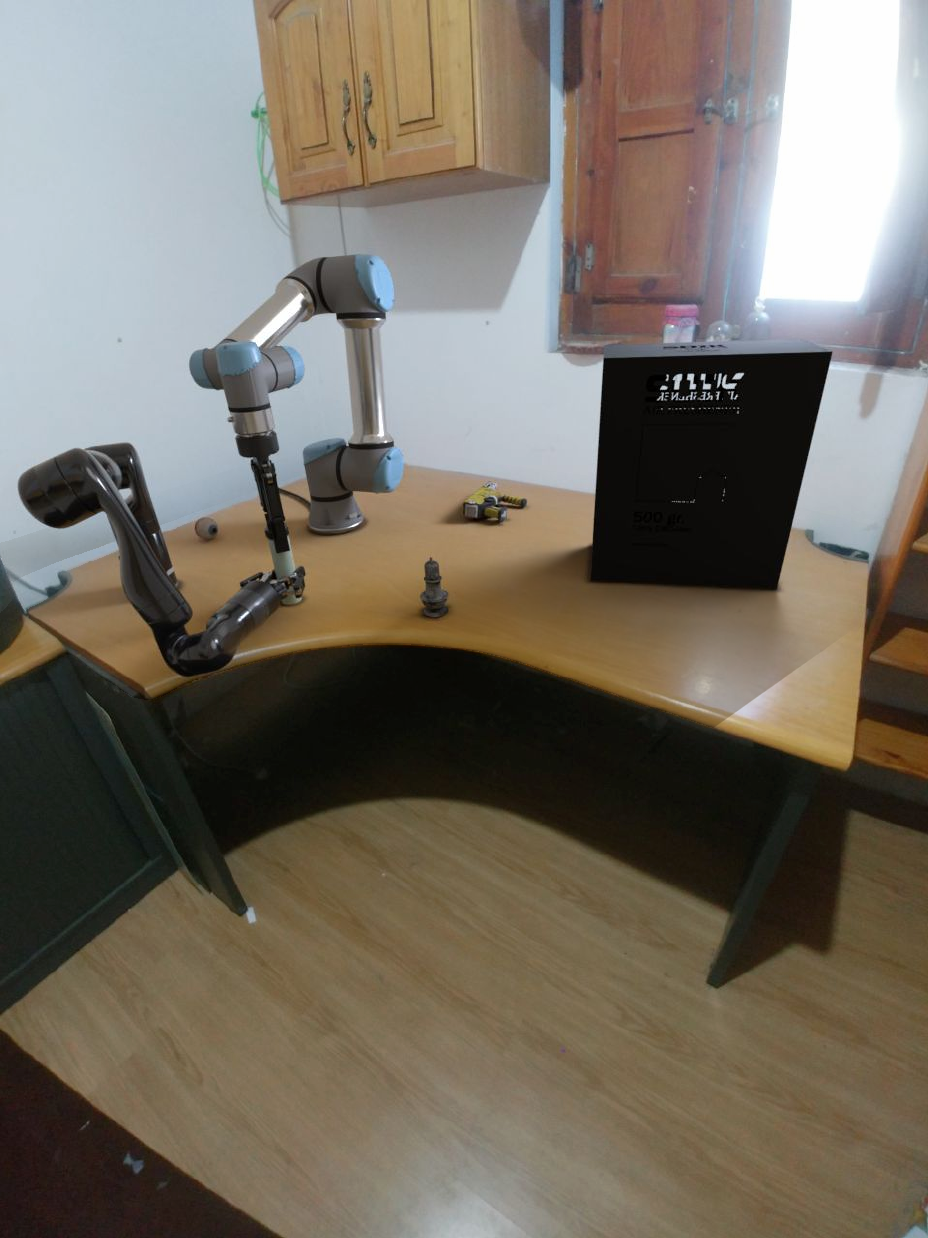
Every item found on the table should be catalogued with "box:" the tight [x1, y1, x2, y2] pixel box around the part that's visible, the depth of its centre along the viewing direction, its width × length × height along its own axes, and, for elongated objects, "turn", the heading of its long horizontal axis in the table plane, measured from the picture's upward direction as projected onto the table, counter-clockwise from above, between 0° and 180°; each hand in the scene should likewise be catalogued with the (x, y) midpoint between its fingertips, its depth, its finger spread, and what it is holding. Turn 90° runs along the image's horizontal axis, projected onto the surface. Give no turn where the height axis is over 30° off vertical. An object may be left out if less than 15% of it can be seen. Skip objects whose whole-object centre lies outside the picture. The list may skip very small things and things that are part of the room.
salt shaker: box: [419, 556, 450, 618], centre depth 120 cm, size 6×6×12 cm
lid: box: [263, 522, 290, 540], centre depth 123 cm, size 5×5×2 cm
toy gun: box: [461, 480, 528, 523], centre depth 173 cm, size 5×24×15 cm
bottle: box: [267, 535, 303, 606], centre depth 127 cm, size 4×4×16 cm
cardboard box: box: [589, 338, 834, 590], centre depth 125 cm, size 38×20×45 cm, turn 78°
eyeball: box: [194, 516, 220, 541], centre depth 163 cm, size 6×6×6 cm
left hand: (292, 569), depth 130 cm, fingers closed on bottle, 4 cm apart
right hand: (280, 546), depth 125 cm, fingers open, 5 cm apart
